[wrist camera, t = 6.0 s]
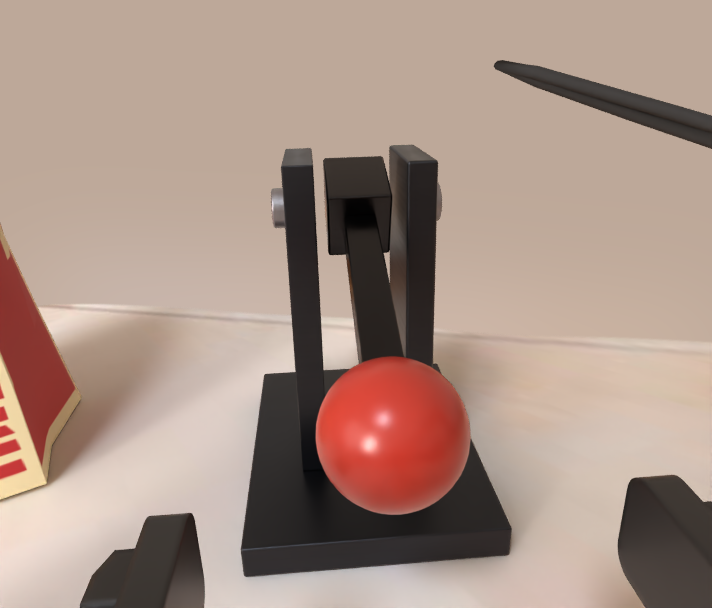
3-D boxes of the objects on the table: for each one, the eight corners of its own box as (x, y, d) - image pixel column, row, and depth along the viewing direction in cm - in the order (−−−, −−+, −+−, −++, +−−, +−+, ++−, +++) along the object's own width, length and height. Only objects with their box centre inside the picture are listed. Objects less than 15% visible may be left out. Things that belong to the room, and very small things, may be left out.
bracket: (509, 556, 20) (545, 177, 15) (243, 577, 19) (195, 191, 15) (436, 383, 31) (443, 133, 26) (265, 393, 31) (242, 140, 26)
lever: (475, 538, 14) (500, 448, 11) (321, 550, 13) (314, 461, 11) (397, 222, 24) (402, 139, 21) (307, 226, 23) (303, 142, 21)
